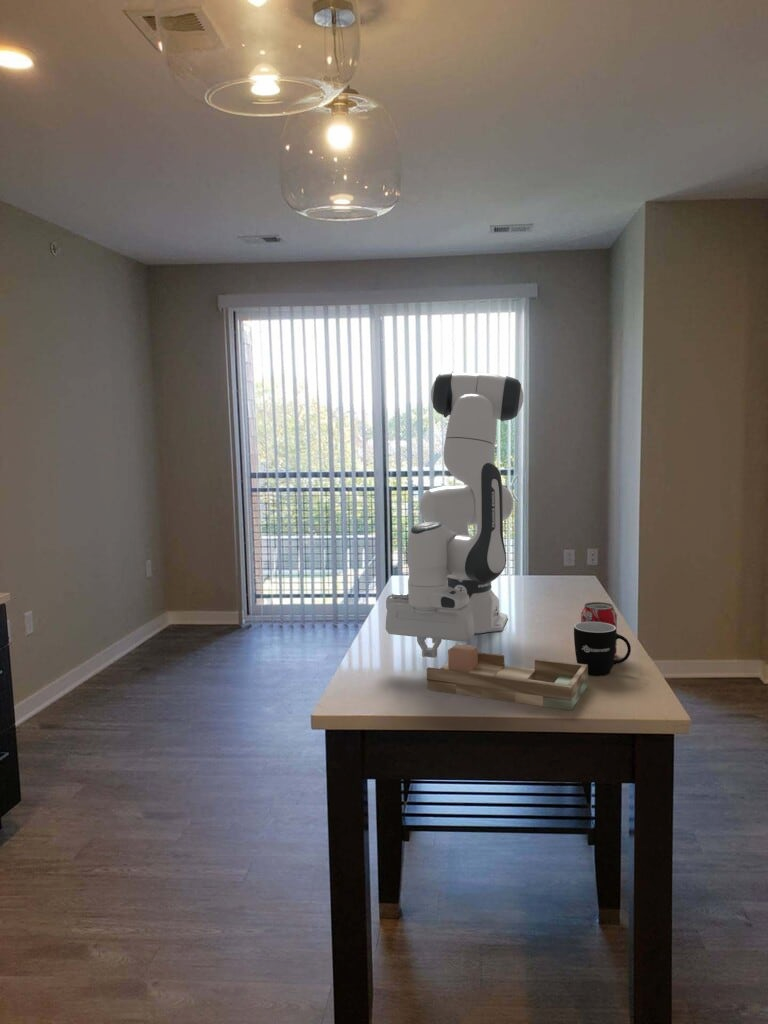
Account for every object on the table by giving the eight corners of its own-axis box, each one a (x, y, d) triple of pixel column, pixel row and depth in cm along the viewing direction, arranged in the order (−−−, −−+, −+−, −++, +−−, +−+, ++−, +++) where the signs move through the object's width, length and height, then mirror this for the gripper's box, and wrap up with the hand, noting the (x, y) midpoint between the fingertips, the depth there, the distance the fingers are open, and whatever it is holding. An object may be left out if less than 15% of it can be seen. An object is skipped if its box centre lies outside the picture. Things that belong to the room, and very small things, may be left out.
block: (456, 661, 168) (456, 644, 167) (477, 664, 165) (477, 646, 165) (448, 668, 163) (448, 650, 163) (470, 670, 161) (469, 652, 160)
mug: (574, 677, 162) (574, 631, 161) (573, 664, 171) (573, 620, 170) (632, 680, 159) (632, 633, 158) (628, 666, 168) (629, 622, 167)
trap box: (453, 668, 170) (453, 649, 170) (587, 685, 157) (587, 664, 156) (427, 689, 157) (426, 668, 156) (571, 710, 143) (571, 687, 143)
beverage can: (616, 661, 172) (617, 610, 171) (580, 659, 174) (580, 608, 173) (616, 651, 180) (616, 602, 178) (581, 649, 182) (581, 600, 181)
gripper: (379, 595, 168) (381, 655, 169) (466, 602, 159) (467, 665, 160) (391, 589, 174) (393, 648, 175) (476, 595, 165) (477, 657, 166)
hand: (429, 656), depth 168 cm, fingers closed
